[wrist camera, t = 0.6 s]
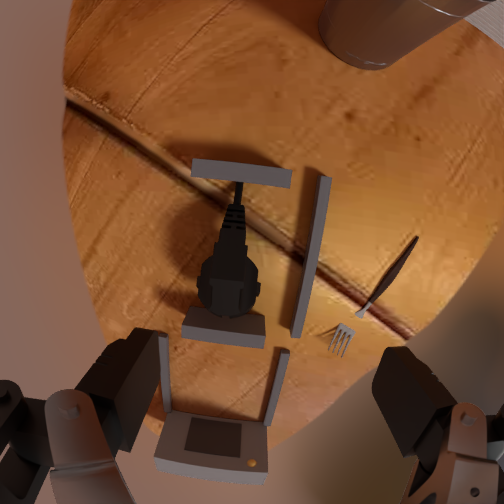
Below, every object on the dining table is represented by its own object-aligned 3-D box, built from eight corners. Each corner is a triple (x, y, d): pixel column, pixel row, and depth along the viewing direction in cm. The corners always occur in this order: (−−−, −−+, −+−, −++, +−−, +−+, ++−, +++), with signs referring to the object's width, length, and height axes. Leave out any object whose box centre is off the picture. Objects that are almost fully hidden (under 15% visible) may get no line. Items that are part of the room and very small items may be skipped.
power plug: (271, 180, 25) (260, 315, 21) (263, 217, 32) (254, 323, 28) (209, 174, 25) (186, 307, 21) (214, 212, 32) (199, 317, 28)
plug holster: (201, 160, 25) (192, 158, 22) (327, 177, 26) (339, 178, 22) (189, 318, 30) (181, 337, 26) (298, 331, 30) (303, 351, 26)
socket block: (160, 332, 31) (133, 382, 22) (289, 350, 31) (298, 405, 22) (167, 424, 36) (153, 469, 27) (265, 437, 36) (266, 485, 27)
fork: (422, 242, 28) (432, 246, 26) (338, 348, 31) (342, 358, 29) (409, 228, 27) (418, 232, 25) (323, 340, 31) (326, 349, 29)
